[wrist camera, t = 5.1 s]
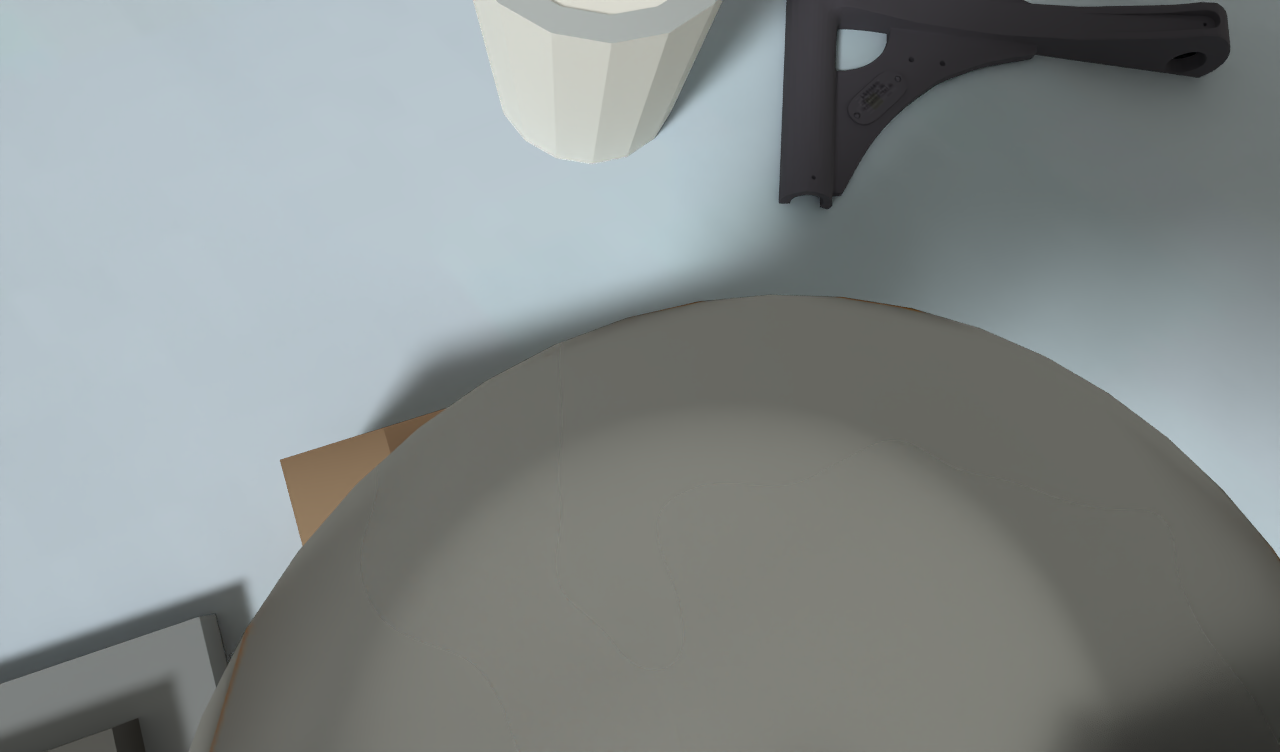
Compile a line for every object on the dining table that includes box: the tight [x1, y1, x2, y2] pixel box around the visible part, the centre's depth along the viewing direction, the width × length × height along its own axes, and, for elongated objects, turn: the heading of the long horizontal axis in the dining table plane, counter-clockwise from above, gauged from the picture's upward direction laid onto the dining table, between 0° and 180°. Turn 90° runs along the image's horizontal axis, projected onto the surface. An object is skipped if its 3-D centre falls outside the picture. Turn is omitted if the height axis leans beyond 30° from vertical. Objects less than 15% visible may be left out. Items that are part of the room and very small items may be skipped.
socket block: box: [280, 408, 446, 546], centre depth 20 cm, size 11×11×4 cm
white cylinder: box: [473, 0, 723, 164], centre depth 22 cm, size 7×7×7 cm
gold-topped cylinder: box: [189, 295, 1280, 752], centre depth 9 cm, size 5×5×12 cm
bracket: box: [779, 0, 1230, 209], centre depth 27 cm, size 14×15×3 cm
